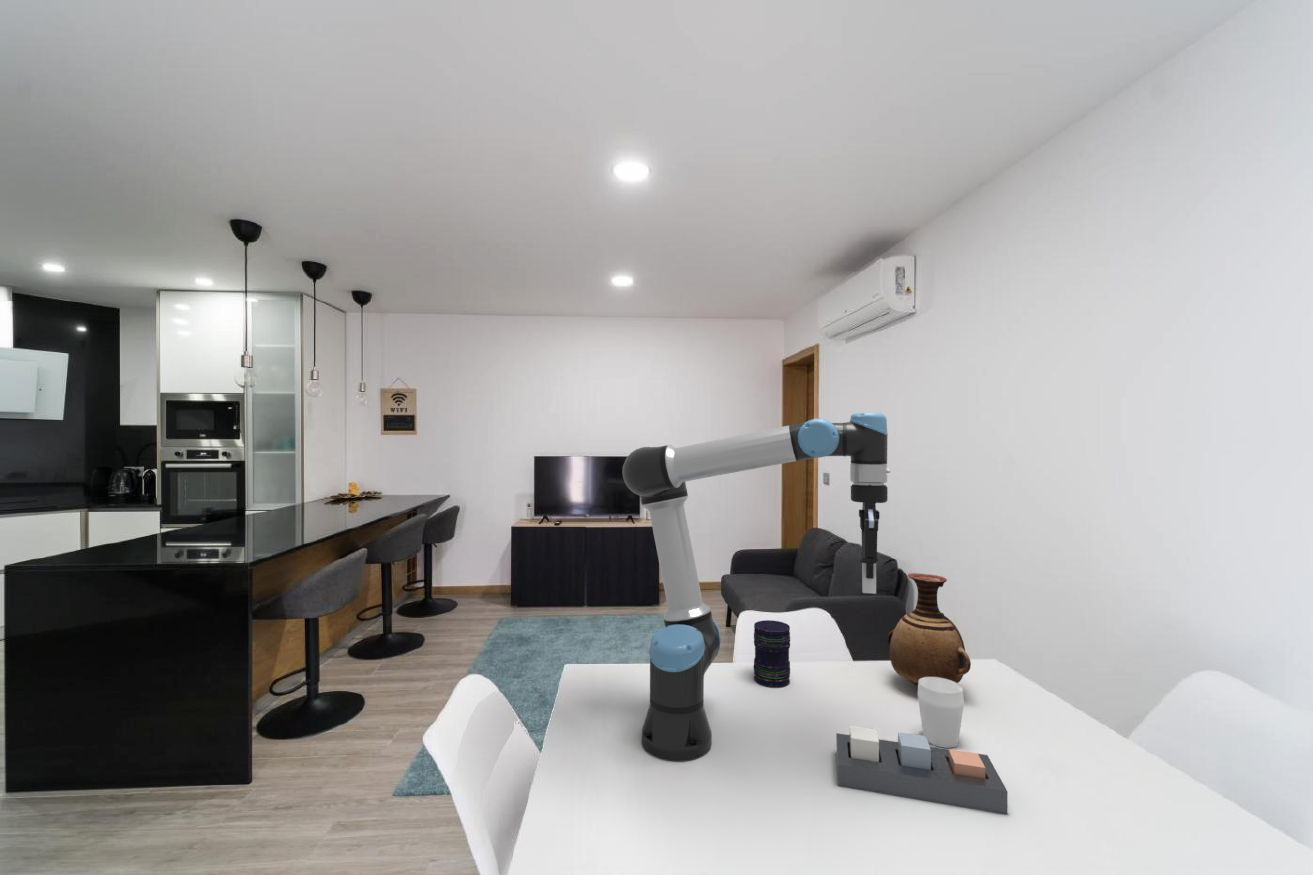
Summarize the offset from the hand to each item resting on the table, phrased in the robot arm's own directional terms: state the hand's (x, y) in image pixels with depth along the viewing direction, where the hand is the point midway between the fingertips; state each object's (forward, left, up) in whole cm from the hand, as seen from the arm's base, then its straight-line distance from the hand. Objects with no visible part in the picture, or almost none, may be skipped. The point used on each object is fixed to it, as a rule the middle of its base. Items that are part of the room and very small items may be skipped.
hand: (869, 592), depth 120 cm
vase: (+17, +33, -33) cm, 49 cm away
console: (+7, -12, -32) cm, 35 cm away
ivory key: (-2, -12, -30) cm, 32 cm away
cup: (+15, +6, -33) cm, 36 cm away
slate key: (+7, -12, -30) cm, 33 cm away
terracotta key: (+16, -12, -32) cm, 37 cm away
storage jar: (-23, +27, -33) cm, 48 cm away
